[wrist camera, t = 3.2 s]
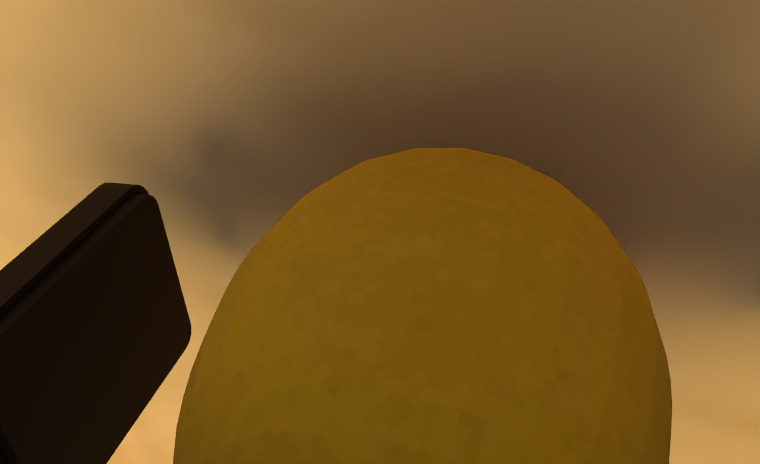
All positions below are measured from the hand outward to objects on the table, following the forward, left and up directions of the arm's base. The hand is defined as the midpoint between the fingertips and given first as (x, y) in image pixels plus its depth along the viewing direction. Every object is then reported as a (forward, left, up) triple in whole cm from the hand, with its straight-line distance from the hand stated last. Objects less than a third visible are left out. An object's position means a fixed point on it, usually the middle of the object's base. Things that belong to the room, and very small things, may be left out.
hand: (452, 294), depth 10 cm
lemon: (0, 0, -2) cm, 2 cm away
